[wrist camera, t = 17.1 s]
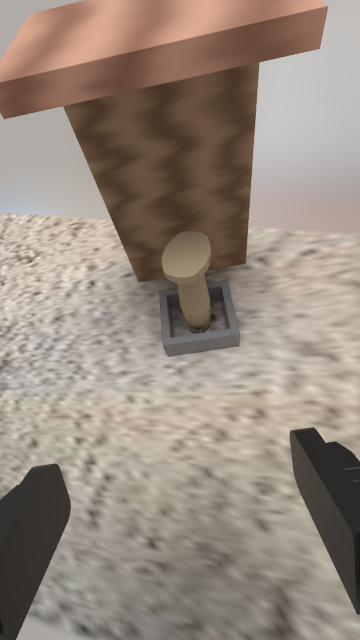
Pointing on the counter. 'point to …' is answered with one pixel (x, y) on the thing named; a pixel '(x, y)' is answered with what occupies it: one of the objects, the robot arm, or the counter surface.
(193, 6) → the wooden l-shaped bracket
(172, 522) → the counter surface
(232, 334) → the socket
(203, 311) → the tan headed rod
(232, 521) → the counter surface
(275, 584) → the counter surface
